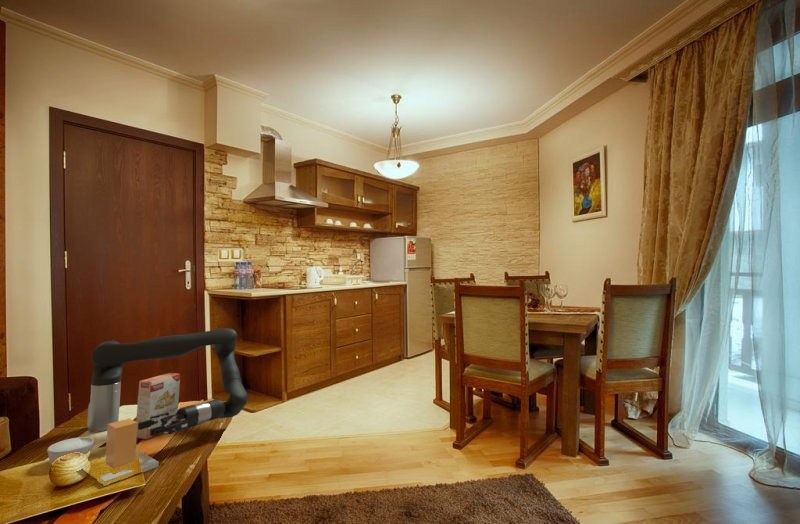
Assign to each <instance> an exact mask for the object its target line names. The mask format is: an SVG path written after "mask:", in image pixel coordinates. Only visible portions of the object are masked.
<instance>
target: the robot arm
mask: <svg viewBox="0 0 800 524" xmlns="http://www.w3.org/2000/svg"><path fill="white" fill-rule="evenodd" d="M237 334H238V333H237V332H236V330H234V329H233V328H226V327H225V328H224V327H223V328H217V329H212V330H207V331H202V332H201V331H200V332H194V333H187V334H175V335H174V334H173V335H165V336H159V337H154V338H149V339H146V340H142V341H138V342H136V341H135V342H127V343H126V342H125V343H120V342H119V341H116V340H107V341H106V340H105V341H103V342H102V343H100V344H99V345H98V346H96V347H95V349H94V350H93V351H92V353H91V356H90V357H91V361H92V362H93V372H92V376H91V384H90V398H89V400H90V402H89V403H88V407H87V408H88V409H87V421H86V422H87V424H86V429H87V430H88V432H105V431H107V426H108V424H110V423H114V422H117V421H120V420H119V417H120V403H121V388H122V387H121V386H122V374H123V366H124V364H126V363H131V362H137V361H139V362H140V361H152V360H163V359H164V360H165V359H171V358H172V359H173V358H179V357H182V356H185V355H187V354H189V353H190V352H193V351H195V350H197V349H199V348H202V347H206V346H208V347H209V346H213V348H214V349H213V350H214V351H215V354H216V357H217V359H218V362H219V367H220V374H221V382H222V388H223V389H222V390H223V392H224V393H226V394H228V395H229V397H228V398H227V400H225V401H223V400H222V399H218V398H217V399H212V400H208V401H202V402H197V403H195V404H191V405H186V406H183V407H180V408H178V411H177V413H176V414H175V415H174V414H169V413H164V414H160V415H156V416H151V417H150V420H147V421H144V422H140V423H138V429H139V430H141V429H145V428H148V427H152V426H158V427H155V428H152V429H150V436H154V435H156V436H158V435H161V434H169V435H171V434H174V433H177V432H181V431H184V430H187V429H191V428H194V427H196V426H200V425H203V424H206V423H208V422H211V421H214V420H216V419H226V418H227V419H228V418H232V417H235V416H237V415H239V414H240V413H241V411H242V410H243V409H244V408H245V406H246V404H247V403H248V400H249V399H248V397H249V396H248V393H247V390H246V389H245V387H244V385H243V384H242V383H243V382H242V378H241V373H240V370H239V367H238V365H237V363H236V357H235V354H236V353H235V352H236V346H237V339H238V335H237ZM154 420H157V421H154ZM161 422H162V424H161ZM156 423H157V424H156ZM157 434H158V435H157ZM154 437H155V436H154Z"/></svg>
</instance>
